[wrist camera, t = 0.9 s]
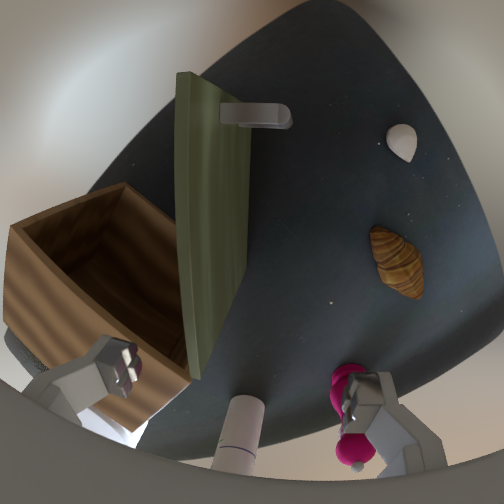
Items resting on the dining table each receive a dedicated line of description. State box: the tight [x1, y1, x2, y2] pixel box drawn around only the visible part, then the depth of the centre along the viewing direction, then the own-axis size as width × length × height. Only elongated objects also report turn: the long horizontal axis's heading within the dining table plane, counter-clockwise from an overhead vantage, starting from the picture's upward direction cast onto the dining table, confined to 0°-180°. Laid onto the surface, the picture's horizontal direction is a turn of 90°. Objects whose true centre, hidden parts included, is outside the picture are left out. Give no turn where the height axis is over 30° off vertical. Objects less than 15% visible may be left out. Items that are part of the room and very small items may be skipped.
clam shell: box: [386, 124, 417, 162], centre depth 31 cm, size 4×5×2 cm
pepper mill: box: [330, 364, 376, 472], centre depth 38 cm, size 7×7×20 cm
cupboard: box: [3, 182, 193, 433], centre depth 34 cm, size 16×22×22 cm
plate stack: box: [77, 405, 148, 448], centre depth 58 cm, size 28×28×12 cm
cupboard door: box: [174, 71, 293, 379], centre depth 27 cm, size 6×22×22 cm, turn 178°
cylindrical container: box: [211, 395, 265, 476], centre depth 42 cm, size 7×7×25 cm
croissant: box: [370, 226, 424, 300], centre depth 36 cm, size 14×7×5 cm, turn 43°
